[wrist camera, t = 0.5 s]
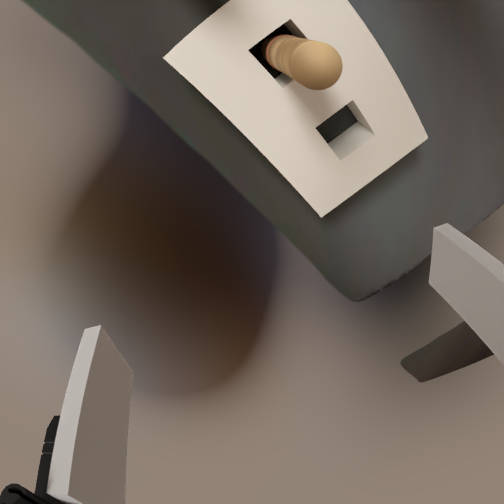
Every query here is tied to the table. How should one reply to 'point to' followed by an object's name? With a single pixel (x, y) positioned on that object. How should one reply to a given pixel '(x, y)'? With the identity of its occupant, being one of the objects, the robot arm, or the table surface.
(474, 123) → the table surface
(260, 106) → the off-white board
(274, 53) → the seated peg
